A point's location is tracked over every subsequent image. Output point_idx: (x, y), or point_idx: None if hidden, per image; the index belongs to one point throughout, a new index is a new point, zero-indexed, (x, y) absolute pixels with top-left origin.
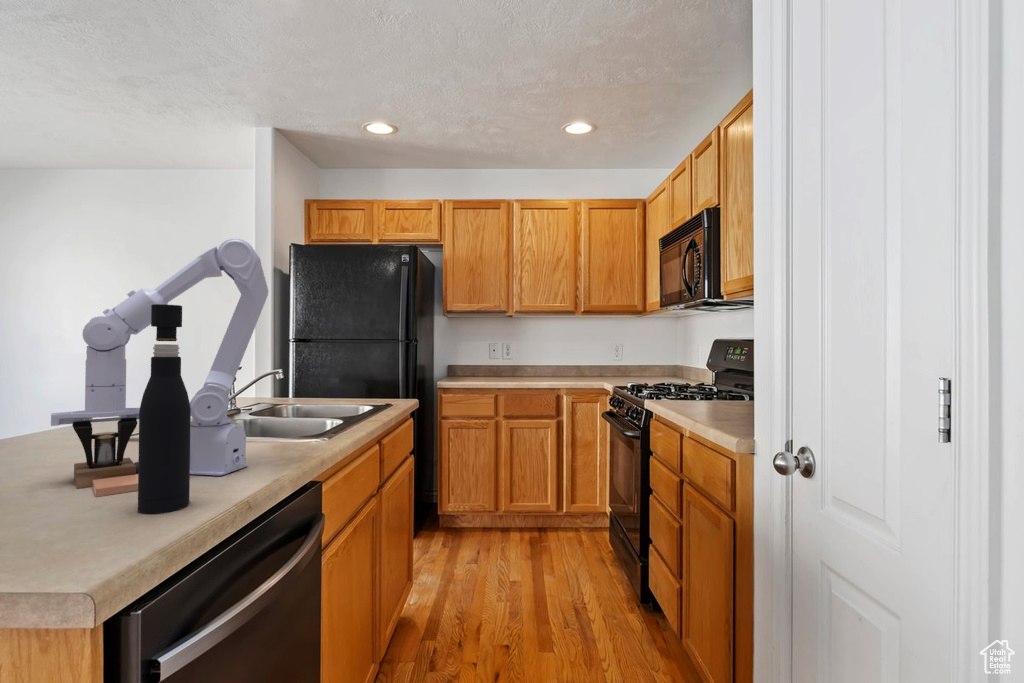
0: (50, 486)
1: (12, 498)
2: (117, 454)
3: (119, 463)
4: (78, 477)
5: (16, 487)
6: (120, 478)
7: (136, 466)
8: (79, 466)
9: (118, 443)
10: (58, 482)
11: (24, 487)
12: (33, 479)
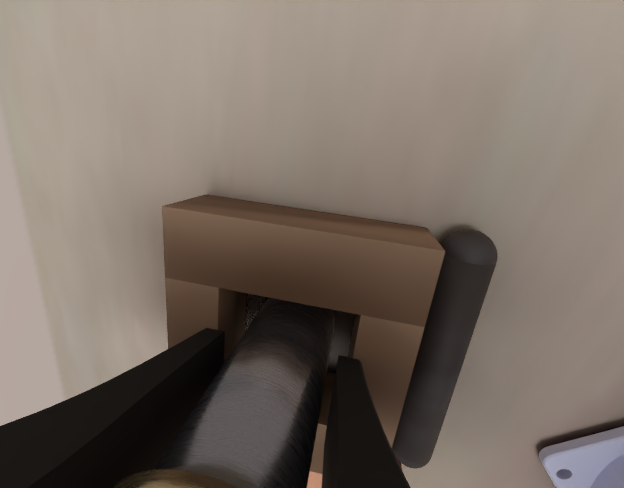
0: (137, 287)
1: (63, 361)
2: (329, 417)
3: (356, 334)
4: None
5: (43, 214)
6: (313, 476)
7: (428, 351)
8: (183, 307)
9: (331, 478)
10: (156, 240)
11: (66, 236)
12: (69, 94)
